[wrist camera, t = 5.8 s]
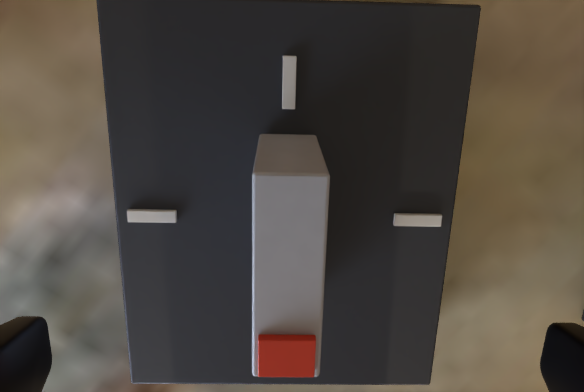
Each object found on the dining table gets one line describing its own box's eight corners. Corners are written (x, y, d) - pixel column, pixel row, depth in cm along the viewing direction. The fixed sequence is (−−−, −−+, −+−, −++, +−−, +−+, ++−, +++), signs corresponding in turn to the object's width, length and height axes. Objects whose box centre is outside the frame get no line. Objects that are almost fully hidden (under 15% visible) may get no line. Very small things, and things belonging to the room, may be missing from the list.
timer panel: (128, -1, 16) (92, -7, 13) (446, 9, 16) (485, 4, 13) (151, 332, 19) (129, 387, 16) (408, 334, 20) (432, 389, 17)
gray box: (258, 133, 14) (251, 175, 10) (316, 134, 14) (331, 177, 10) (258, 292, 16) (251, 384, 12) (310, 293, 16) (321, 385, 12)
